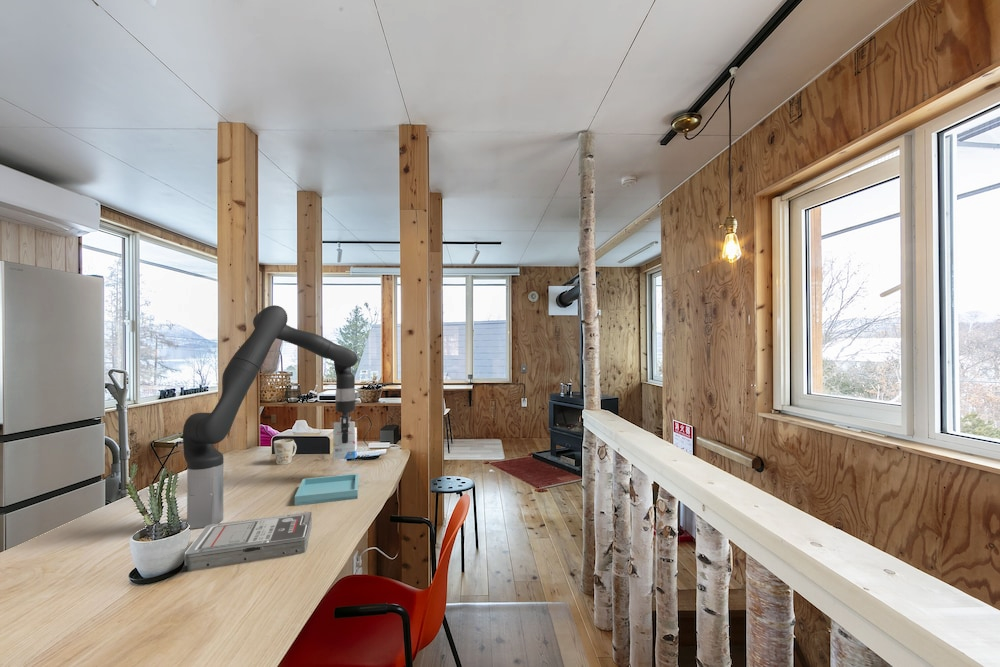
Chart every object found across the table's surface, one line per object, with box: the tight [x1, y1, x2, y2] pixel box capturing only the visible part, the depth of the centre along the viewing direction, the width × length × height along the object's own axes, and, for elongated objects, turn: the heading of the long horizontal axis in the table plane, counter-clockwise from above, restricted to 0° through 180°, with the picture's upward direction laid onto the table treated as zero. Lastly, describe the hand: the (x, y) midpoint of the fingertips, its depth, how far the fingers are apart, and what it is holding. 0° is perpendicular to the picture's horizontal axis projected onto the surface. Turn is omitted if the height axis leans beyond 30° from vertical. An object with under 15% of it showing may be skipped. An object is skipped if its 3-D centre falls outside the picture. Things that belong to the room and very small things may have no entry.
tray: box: [294, 473, 359, 506], centre depth 158 cm, size 20×20×3 cm
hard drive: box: [182, 511, 313, 573], centre depth 117 cm, size 18×27×4 cm
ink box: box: [332, 421, 358, 460], centre depth 175 cm, size 8×5×15 cm, turn 99°
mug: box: [273, 438, 298, 465], centre depth 200 cm, size 8×13×10 cm, turn 171°
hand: (345, 441), depth 175 cm, fingers closed on ink box, 5 cm apart
